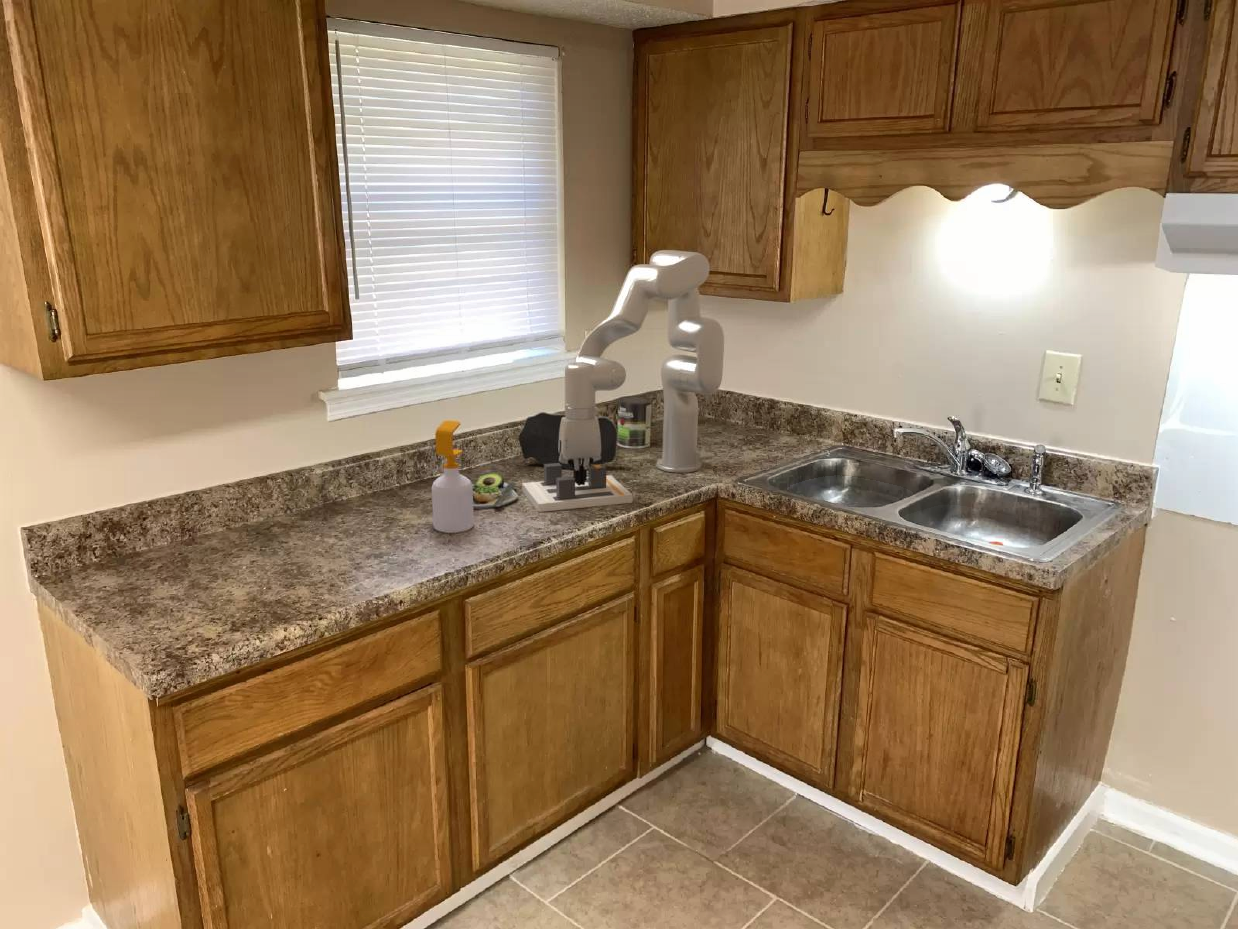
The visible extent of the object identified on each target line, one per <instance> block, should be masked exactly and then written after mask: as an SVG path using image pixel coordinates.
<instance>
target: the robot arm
mask: <svg viewBox="0 0 1238 929" xmlns="http://www.w3.org/2000/svg"><path fill="white" fill-rule="evenodd" d="M709 274H710V262H709V260H708V258H707V257H706V256H705V255H704V254H702V253H700V252H695V251H687V250H686V251H685V250H683V251H682V250H674V249H670V250H669V249H668V250H667V249H662V250H661V249H660V250H658V251H655V252H654V253H652V255H651V256H650V259H649V264H648V263H646V264H644V263H642V264H636V265H633V266H632V267H631V268H629V270H628V272H627V274H626V276H625V279H624V281H623V284H622V285H621V288H620V290H619V292H618V295H617V297H616V299H615V301H614V304H613V306H612V309H611V311H610V313H609V315H608V316H607V317H606V318H605V319H604V320H603V321H601V322H600V323H599V324H598V325H597V326H596V327H594V328H593V329H592V330H591V331H590V332H589V333H588V334H587V336H586V337H585V338H584V340H583V341H582V343H581V346H580V347H579V350H578V352H577V354H576V356H575V359H574V362H573V361H572V362H570V363H567V364H566V366H565V368H564V414H565V417H562V419H561V424H560V431H559V442H558V451H559V454H560V457H559V461H560V462H561V463H565V464H570V465H571V466H572V467H573V469H572V470H573V471H572V472H573V474H572V477H573V478H574V479H575V482H576V483H577V484H578V485H581V484H582V485H585V481H586V480H587V477H588V476H587V475H588V474H587V472H588V471H587V470H588V467H589V466H592V464H591V463H592V462H595V461H598V460H600V459H601V455H600V453H601V437H600V428H599V422H598V418H597V417H598V416H597V414H598V413H601V411H602V408H601V406H597V405H596V393H597V391H614V390H615V391H616V390H617V389H619V388H621V387H622V385H623V384H624V383H625V381H626V378H627V372H626V369H625V366H624V365H622V364H621V363H620V362H618V361H616V360H612V359H608V358H603V357H602V356H603V353H604V351H606V349H608V348H609V346H610V345H612V344H613V343H615V342H616V341H618V340H621V339H622V338H623V339H624V338H626V337H628V336H630V335H633V334H635V333H637V332H639V331H640V330H641V329H642V326H643V323H644V321H645V318H646V317H647V314H648V311H649V310H650V307H651V305H652V303H653V301H654V300H655V301H656V300H657V301H665V302H667V305H668V306H667V308H668V309H667V311H668V313H667V342H668V344H669V345H670V346H671V347H672V348H674V349H676V350H680V351H684V352H688V353H696V356H694V355H687V354H673V355H670V356H668V357H667V358H666V359H665V360H664V361H662V365H661V368H660V379H661V383H662V391H663V418H662V419H663V420H662V421H663V423H662V451H661V452H662V456H661V457H662V458H659V459H657V461H656V468H658V469H660V470H661V471H665V472H669V473H679V474H680V473H682V474H685V473H692V472H697V471H698V470H701V469H702V461H703V460H713V456H714V455H713V453H712V451H709V452H708V451H707V452H705V451H704V450H702V451H701V450H700V451H699V450H697V447H698V420H699V418H698V416H699V403H698V399H697V395H696V394H698V395H705V396H709V395H713V394H715V393H716V392H717V391H718V390H719V388H720V386H721V384H722V381H723V374H724V373H723V372H724V352H725V335H724V334H725V333H724V330H723V327H722V325H721V324H720V323H719V321H717V320H715V319H714V318H711V317H703V316H701V296H700V291H699V287H700V286H701V285H702V284H704V283H705V282H706V280H707V279H708V277H709ZM578 458H582V459H581V464H579V462H578Z"/></svg>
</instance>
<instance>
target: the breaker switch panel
mask: <svg viewBox="0 0 1238 929" xmlns="http://www.w3.org/2000/svg"><path fill="white" fill-rule="evenodd" d="M562 469H563V468H562V465H561V464H560V463H552V464H543V481H531V482H530V481H529V482H522V483H521V490H522V492H523V494H524V495H525V496H526V498H527V499H528V500H529V501H530V503H531V504H532V505H533V506H534V508H535V510H536V511H537V512H538V513H541V512H543V513H544V512H550V511H551V512H552V511H553V512H554V511H561V510H573V509H580V508H583V509H584V508H591V507H600V506H602V507H603V506H611V505H620V504H630V503H633V501H634V499H633V496H634V495H633V494H632V493H631V492H630V491H629V490H628V489H627V488H626V487H624V486H623V485H622V484H621V483H620V482H619V481H618V480H617V479H616V478H615V477H613V476H612V475H611V474H610V475H607V474H606V487H597V488H591V487H590V486H589V485H588V476H587V480H586V481H585V485H582V484H581V485H578V484H577V483H576V482H575V479H574V478H573V475H571V476H563V474H562V472H563V471H562Z"/></svg>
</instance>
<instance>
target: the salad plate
mask: <svg viewBox="0 0 1238 929" xmlns="http://www.w3.org/2000/svg"><path fill="white" fill-rule="evenodd" d="M515 485H516V483H515V482H513V481H510V482H508V483H507V482H505V480H504V478H503V477H502V475H501V474H499V473H487V474H483V475H481V476H479V477H478V478H476V481H475V482H474V483H472V486H473V502H476V503H477V504H473V510H481V509H482V510H483V509H492V508H500V507H503V506H505V505H508V504H509V503H511V502H513V501H515V500H517V499H518V493H517V492H516V491H515V490H514V487H515Z"/></svg>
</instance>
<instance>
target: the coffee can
mask: <svg viewBox="0 0 1238 929" xmlns="http://www.w3.org/2000/svg"><path fill="white" fill-rule="evenodd" d="M652 402H653V399H651V398H649V397H647V396H642V395H627V396H626V395H625V396H621V397H618V398H617V447H621V448H624V449H632V450H633V449H636V450H637V449H639V450H640V449H645V448H648V447H650V446H651V428H652V427H651V425H652V424H651V423H652Z"/></svg>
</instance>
